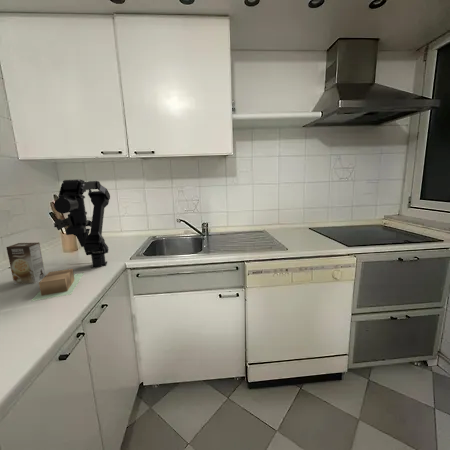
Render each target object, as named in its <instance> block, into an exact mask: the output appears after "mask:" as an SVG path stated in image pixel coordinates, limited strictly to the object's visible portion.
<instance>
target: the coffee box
mask: <svg viewBox="0 0 450 450" xmlns="http://www.w3.org/2000/svg"><path fill="white" fill-rule="evenodd" d="M5 248H6V253H7V257H8V262H9V266H10V270H11V271H10V272H11V276H12V280H13V281H12V282H13V284H14V285H18V284H19V285H20V284H36V283H39V282H40V281H41V280H42V279H43V278H44V277H45V276H46V270H45V267H44V265H45V264H44V262H43V261H44V260H43V255H42V249H41V243H40V242H18V243H15V244H12V245H9V246H6V247H5Z"/></svg>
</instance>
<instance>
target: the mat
mask: <svg viewBox="0 0 450 450" xmlns="http://www.w3.org/2000/svg"><path fill="white" fill-rule="evenodd" d="M73 274H74V282H73V283H72V285H71V286H70V288H69V289H68V291H66V292H60V293H54V294H48V295H42V296H41V291H40V290H39V291H38V292H37V294H36V295H35V296H34V297H33V298H32V299H31V300H30V302H34V301H40V300H47V299H53V298H58V297H64V296H70V295H72V293H73V292H74V290H75V289H76V287H77V285H78V284H79V282H80V280H81V278H82V277H83V275H84V274H85V273H84V272H82V273H73Z"/></svg>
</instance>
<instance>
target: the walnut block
mask: <svg viewBox="0 0 450 450" xmlns="http://www.w3.org/2000/svg"><path fill="white" fill-rule="evenodd" d="M74 274H75V273H74V269H73V268H67V269H62V270H54V271H53V270H52V271H49V272H48V273H47V274H45V277H44V278H43V279H42V280H40V281H38V285H39V292H40V291H41V296H42V295H48V294H54V293H60V292H66V291H68V289H69V288H70V286H71V285H72V283H73V282H74Z"/></svg>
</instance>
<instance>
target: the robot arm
mask: <svg viewBox="0 0 450 450" xmlns="http://www.w3.org/2000/svg"><path fill="white" fill-rule="evenodd" d="M92 190H93V191H92ZM94 190H95V191H94ZM87 191H88V194H87V196H88V197H89V198H90V201H91V203H92V205H93V209H92V217H91V220H90V219H87V218H88V217H87V214H88V211H86V206H85V205H86V204H85V199H86V196H85V195H84V193H86V192H87ZM57 196H58V198H57V199H56V200H55V201H54V204H53V208H54V210H55V211H56V213H57V212H58V213H59V214H67V217H66V218H63V219H61V218H57V219H55V220H54V223H53V225H54V226H53V227H54V228H56V230H57V231H60V230H62V229H64V228H66V227H67V228H66V229H65V235H66V236H70V235H71V236H72V235H73V236H75V237H76V239H77V241H78V242H79V245H80V247H81V248H83V250H84V252H85V255H86V256H91V266H90V268H91V269H95V268H101V267H102V268H103V267H106V266H107V265H108V261H106V256H105V255H106V254H108V253H109V246H108V244H107V243H106V242H105V241H106V239H105V238H104V236H103V224H104V217H105V215H104V214H105V208H106V207H107V206H108V205H109V203H110V200H111V194H110V193H109V191H108V188H106V187H105V186H104V185H102V184H101V183H100V181H98V180H88V181H85V180H84V179H79V178H78V179H64V180H63V181H62V182H61V185H60V189H59V193H58V195H57ZM87 227H90V228H87Z"/></svg>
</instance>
